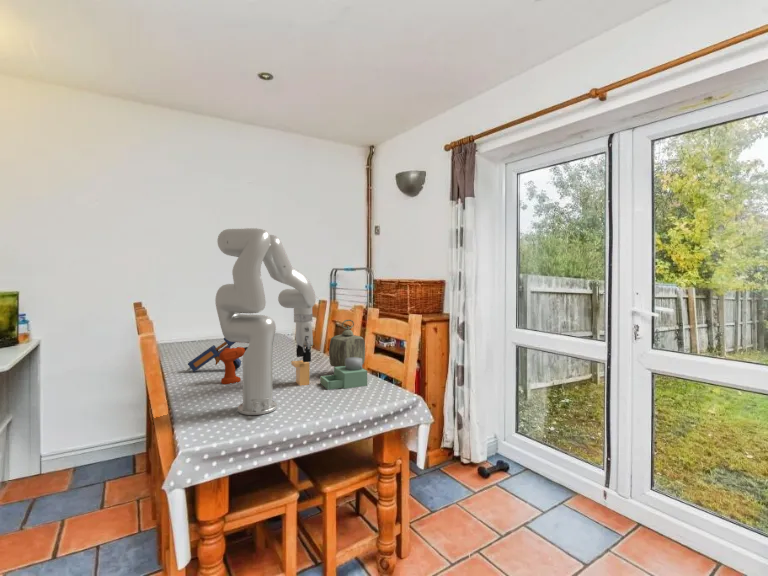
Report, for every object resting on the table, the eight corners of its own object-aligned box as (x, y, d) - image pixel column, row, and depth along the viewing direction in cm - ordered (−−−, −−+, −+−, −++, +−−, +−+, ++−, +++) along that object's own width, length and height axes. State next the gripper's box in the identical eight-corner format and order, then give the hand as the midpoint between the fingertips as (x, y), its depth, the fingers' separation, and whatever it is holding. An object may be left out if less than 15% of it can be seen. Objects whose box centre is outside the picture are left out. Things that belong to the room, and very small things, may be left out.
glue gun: (203, 392, 185) (182, 367, 182) (259, 351, 191) (239, 326, 189) (200, 395, 179) (179, 369, 176) (259, 353, 186) (238, 327, 183)
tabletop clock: (353, 370, 188) (353, 317, 187) (366, 374, 182) (367, 319, 181) (328, 376, 178) (329, 320, 177) (342, 380, 171) (342, 322, 170)
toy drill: (267, 374, 174) (263, 340, 172) (223, 387, 162) (218, 351, 160) (263, 372, 177) (259, 339, 175) (219, 384, 165) (215, 349, 164)
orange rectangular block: (309, 384, 164) (309, 362, 163) (294, 386, 161) (294, 364, 161) (305, 381, 169) (305, 360, 169) (291, 382, 166) (291, 361, 166)
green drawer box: (367, 385, 163) (367, 361, 163) (329, 390, 156) (329, 365, 156) (355, 378, 174) (356, 355, 174) (319, 382, 167) (319, 358, 166)
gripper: (318, 320, 159) (318, 362, 160) (306, 315, 174) (306, 353, 175) (299, 321, 155) (300, 365, 156) (288, 316, 171) (289, 355, 172)
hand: (303, 359), depth 166 cm, fingers open, 9 cm apart
